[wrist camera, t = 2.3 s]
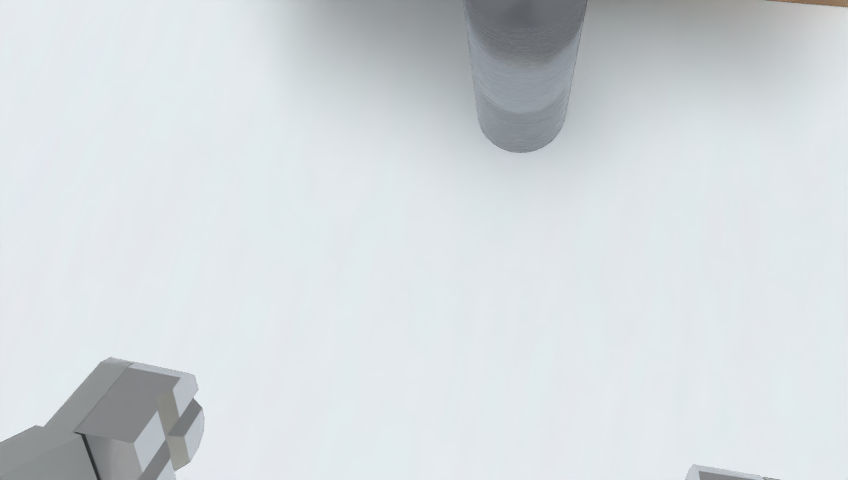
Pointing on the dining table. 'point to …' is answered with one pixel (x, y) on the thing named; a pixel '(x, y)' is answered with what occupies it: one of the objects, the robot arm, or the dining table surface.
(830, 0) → the nut block
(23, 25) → the dining table surface
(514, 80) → the pin
